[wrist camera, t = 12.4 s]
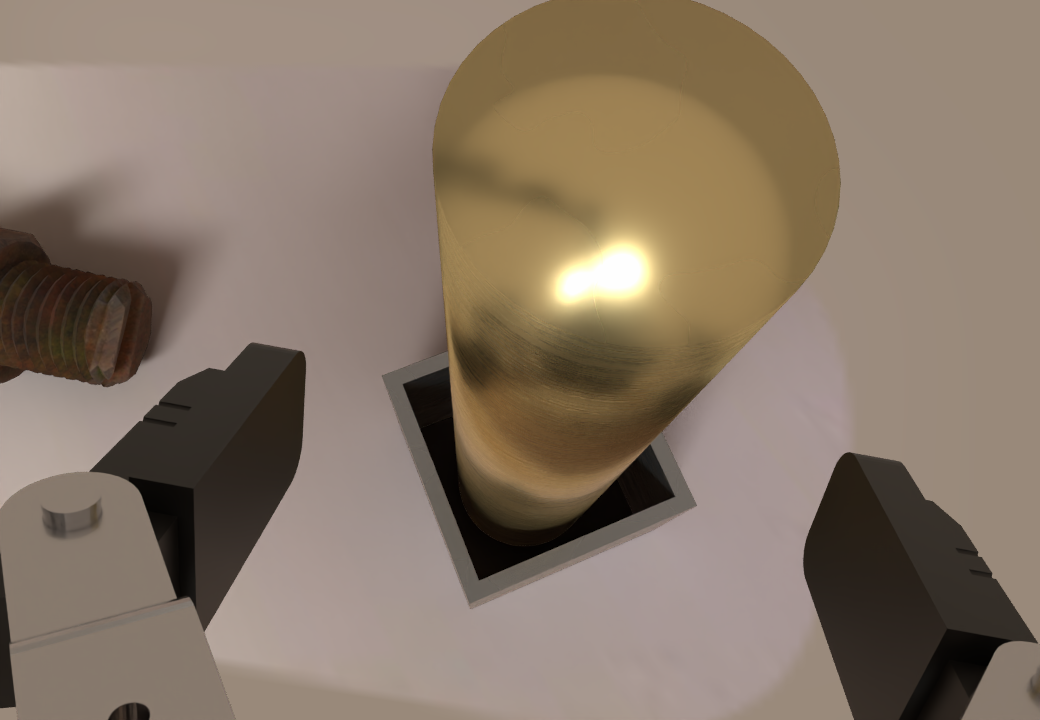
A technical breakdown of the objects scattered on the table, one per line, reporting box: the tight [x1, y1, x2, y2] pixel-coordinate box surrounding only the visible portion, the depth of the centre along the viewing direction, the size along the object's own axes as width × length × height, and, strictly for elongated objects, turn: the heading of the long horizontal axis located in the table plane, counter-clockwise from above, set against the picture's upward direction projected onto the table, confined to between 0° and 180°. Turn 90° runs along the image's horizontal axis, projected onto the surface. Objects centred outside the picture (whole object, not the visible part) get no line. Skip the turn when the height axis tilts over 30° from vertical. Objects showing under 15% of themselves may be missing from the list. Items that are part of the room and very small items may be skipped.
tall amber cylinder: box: [432, 0, 841, 546], centre depth 16 cm, size 4×4×18 cm
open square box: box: [382, 351, 697, 609], centre depth 23 cm, size 6×6×5 cm
